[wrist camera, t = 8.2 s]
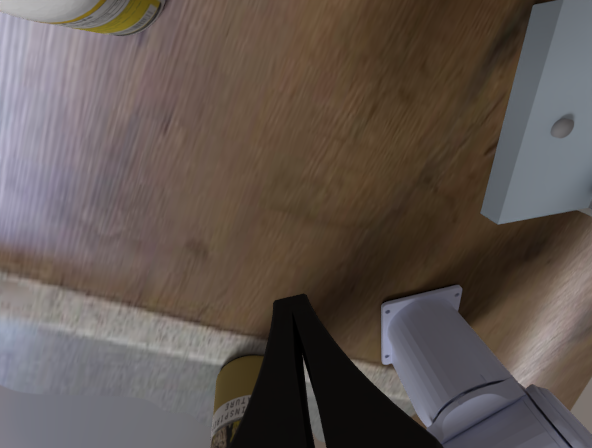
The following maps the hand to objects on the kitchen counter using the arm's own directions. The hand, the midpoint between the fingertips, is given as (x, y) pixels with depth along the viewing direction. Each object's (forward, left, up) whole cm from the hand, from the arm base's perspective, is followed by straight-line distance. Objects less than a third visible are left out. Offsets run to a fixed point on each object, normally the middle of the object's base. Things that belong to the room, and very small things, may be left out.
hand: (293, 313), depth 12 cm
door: (+2, -21, -10) cm, 24 cm away
